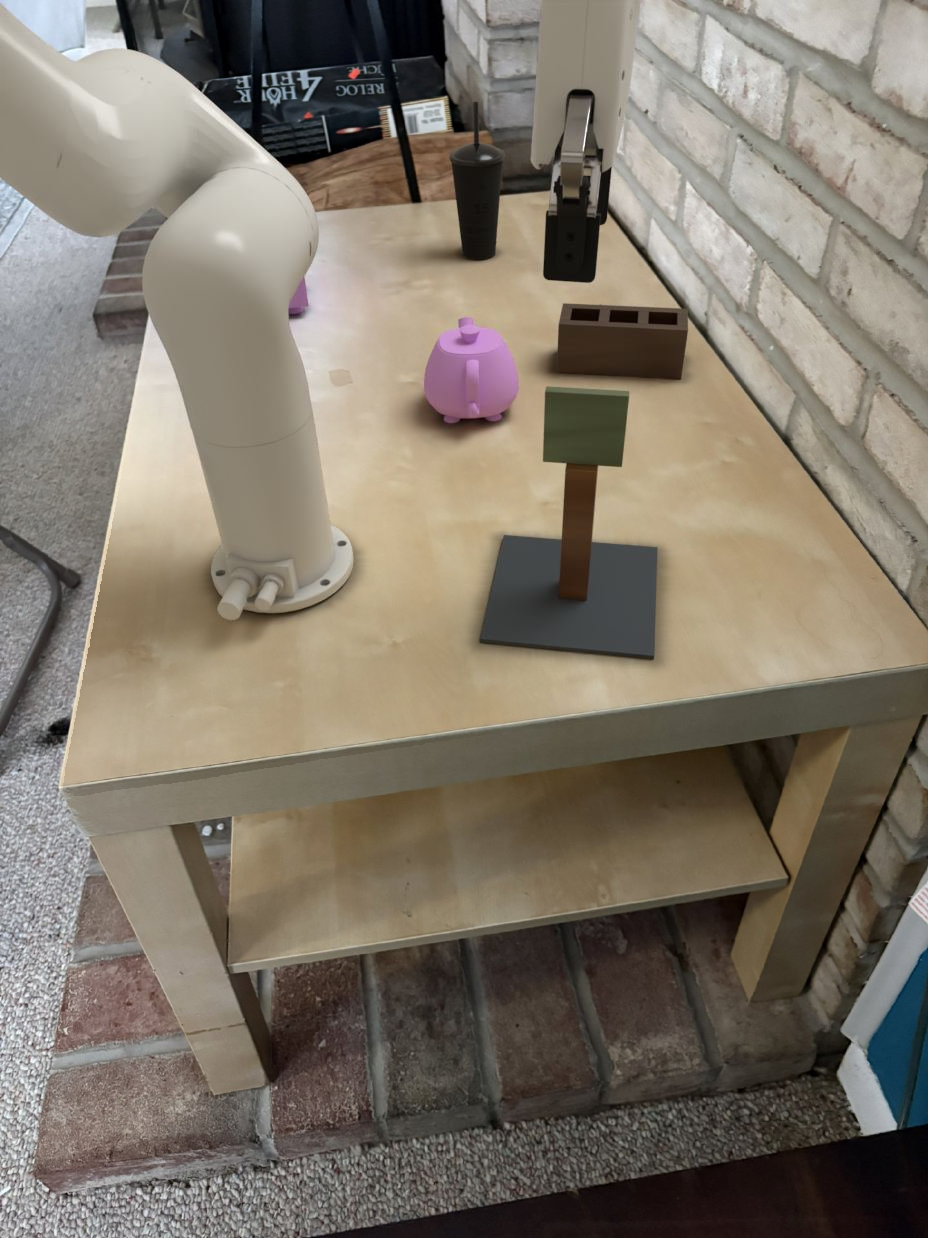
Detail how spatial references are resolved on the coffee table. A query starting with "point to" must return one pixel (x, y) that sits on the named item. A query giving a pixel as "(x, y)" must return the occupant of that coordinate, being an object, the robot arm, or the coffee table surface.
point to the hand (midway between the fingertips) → (576, 249)
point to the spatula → (582, 468)
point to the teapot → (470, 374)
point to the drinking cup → (477, 194)
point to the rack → (622, 340)
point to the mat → (598, 625)
